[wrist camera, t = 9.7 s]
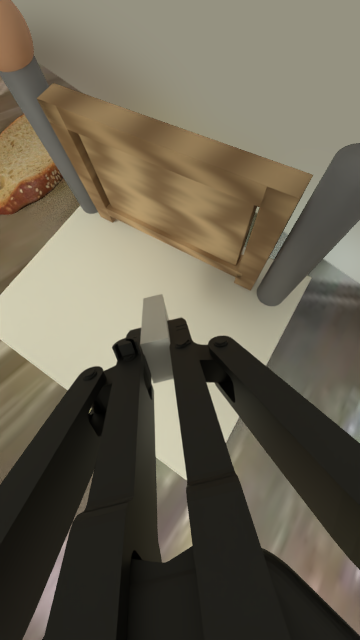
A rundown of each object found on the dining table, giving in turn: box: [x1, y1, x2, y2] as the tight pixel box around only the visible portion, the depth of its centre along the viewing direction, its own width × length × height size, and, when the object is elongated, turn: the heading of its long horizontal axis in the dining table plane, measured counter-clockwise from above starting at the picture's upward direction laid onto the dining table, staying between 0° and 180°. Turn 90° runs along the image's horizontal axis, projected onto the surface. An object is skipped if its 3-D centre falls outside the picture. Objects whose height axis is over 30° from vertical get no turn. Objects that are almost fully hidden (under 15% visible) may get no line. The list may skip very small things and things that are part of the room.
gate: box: [37, 83, 313, 291], centre depth 21 cm, size 21×2×12 cm, turn 58°
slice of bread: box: [0, 114, 63, 214], centre depth 34 cm, size 18×18×4 cm
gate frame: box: [0, 0, 360, 480], centre depth 18 cm, size 30×24×18 cm
